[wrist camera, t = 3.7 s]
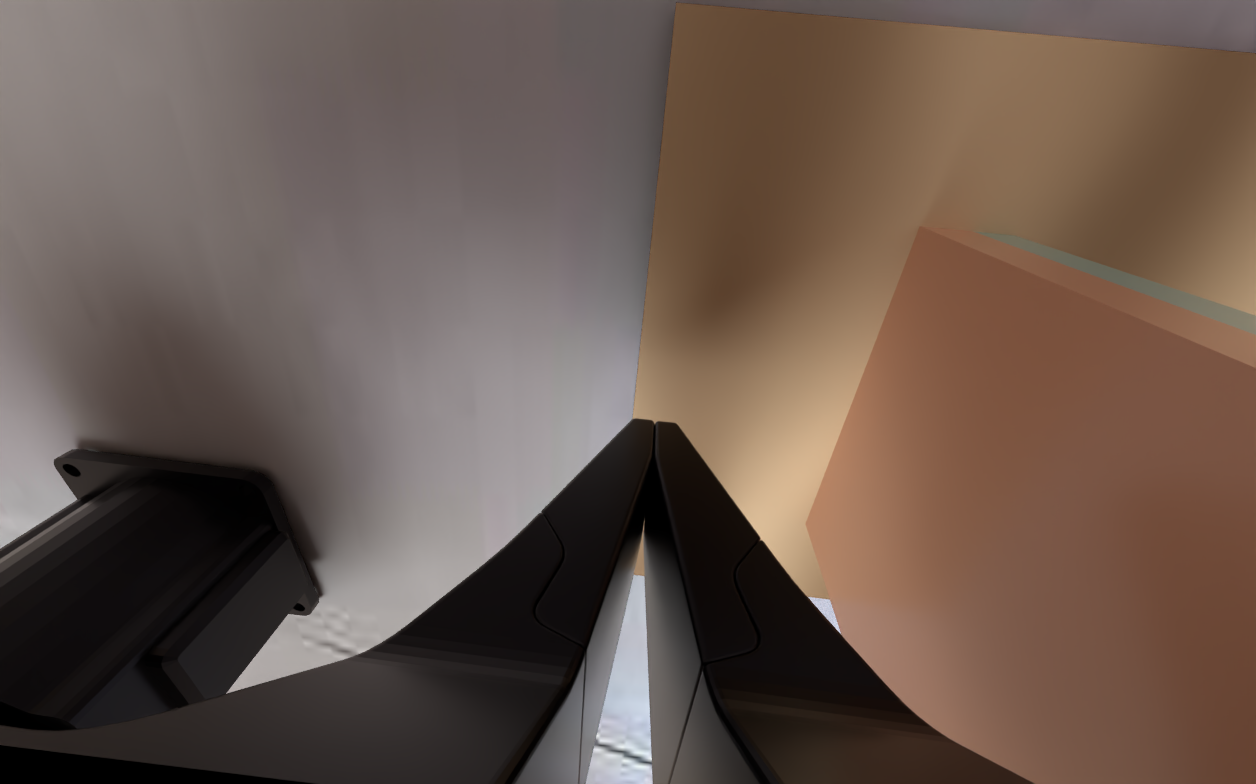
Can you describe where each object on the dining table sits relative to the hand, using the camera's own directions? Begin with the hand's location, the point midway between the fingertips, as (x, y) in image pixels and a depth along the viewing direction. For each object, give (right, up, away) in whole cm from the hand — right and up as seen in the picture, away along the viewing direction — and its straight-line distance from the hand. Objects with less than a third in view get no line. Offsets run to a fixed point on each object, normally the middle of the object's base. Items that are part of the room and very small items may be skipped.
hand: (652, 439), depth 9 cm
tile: (+6, +1, +2) cm, 6 cm away
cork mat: (+8, 0, +2) cm, 8 cm away
